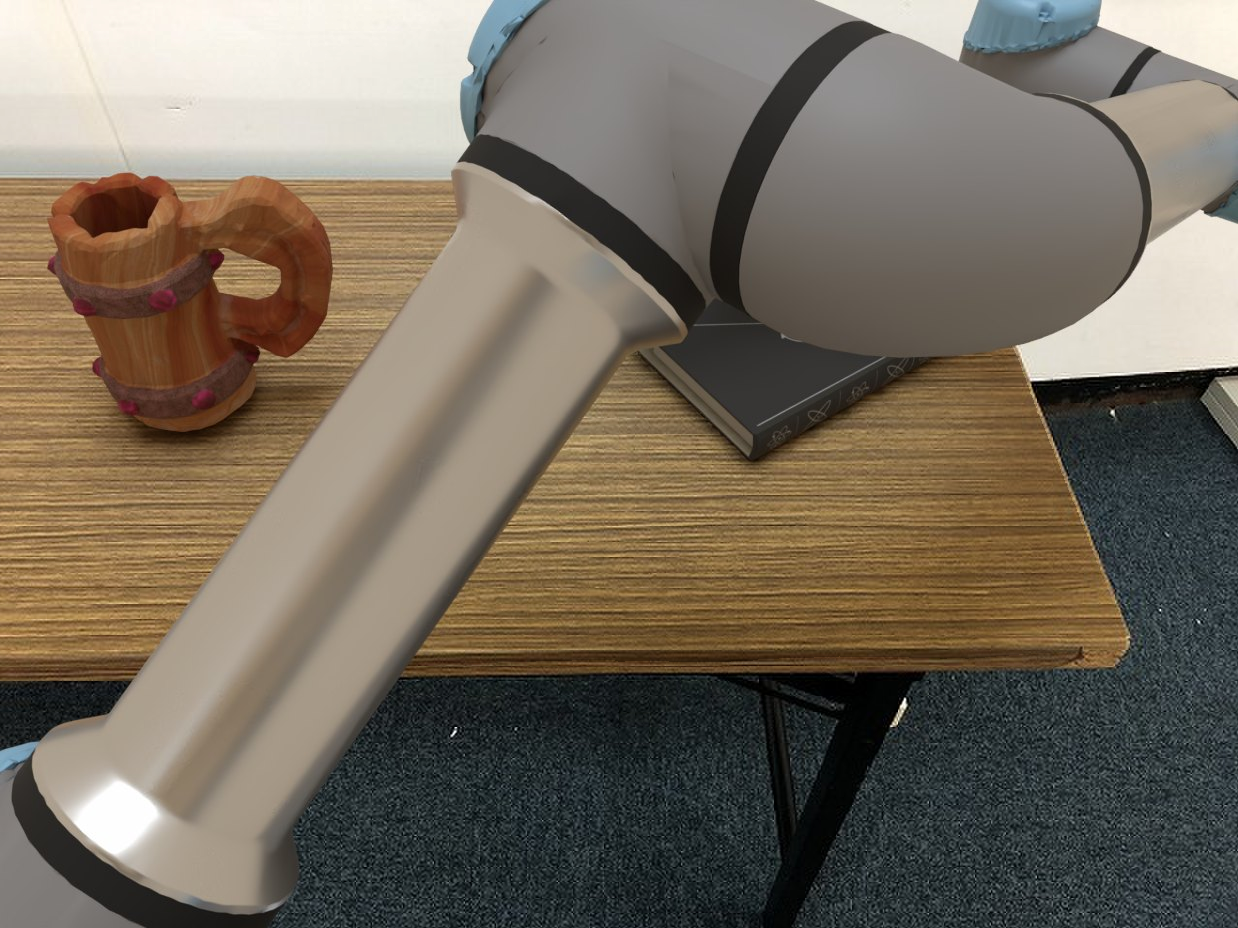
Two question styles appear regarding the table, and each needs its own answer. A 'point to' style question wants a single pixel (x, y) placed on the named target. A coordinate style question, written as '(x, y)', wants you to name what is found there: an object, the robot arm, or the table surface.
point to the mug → (187, 289)
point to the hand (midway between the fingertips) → (564, 139)
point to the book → (766, 378)
